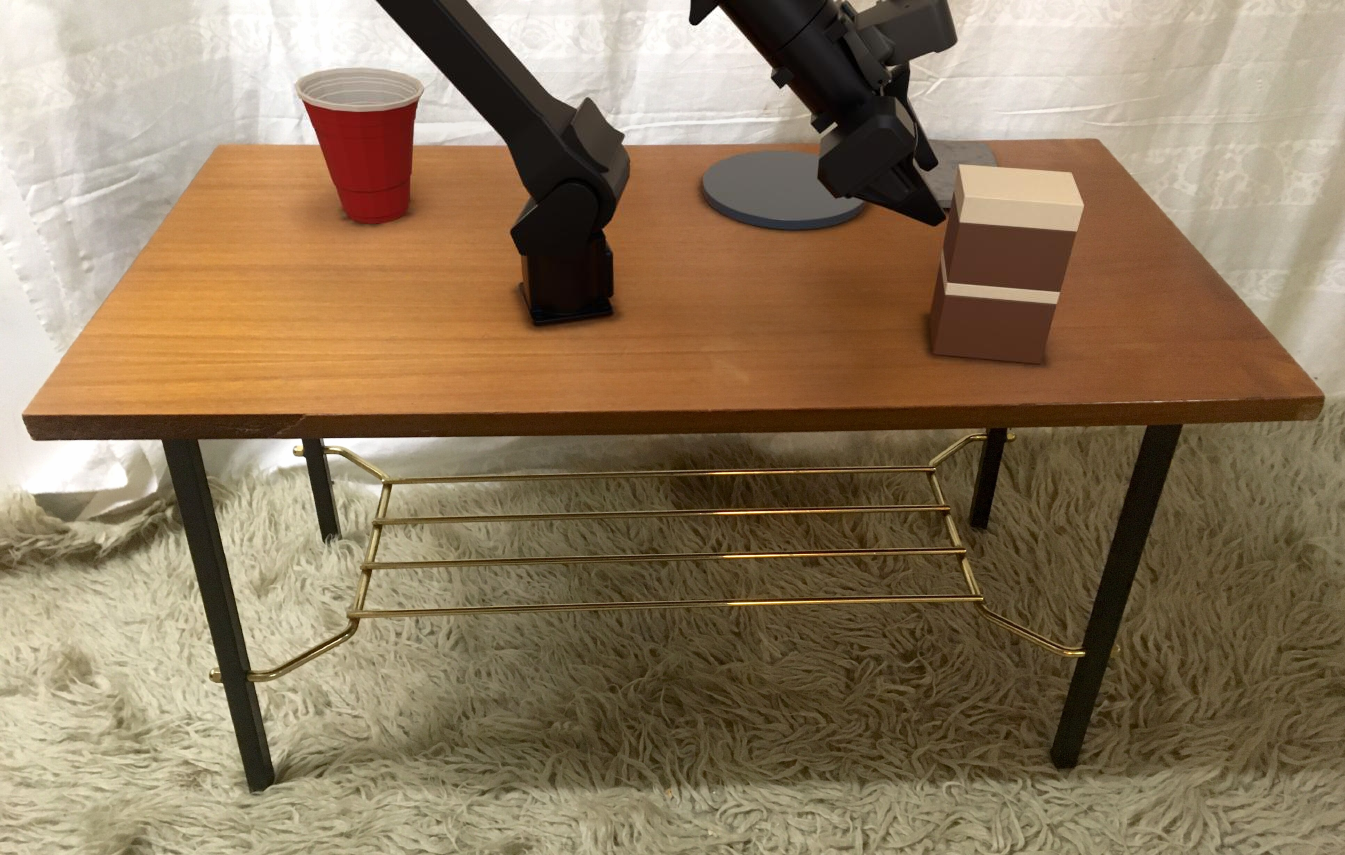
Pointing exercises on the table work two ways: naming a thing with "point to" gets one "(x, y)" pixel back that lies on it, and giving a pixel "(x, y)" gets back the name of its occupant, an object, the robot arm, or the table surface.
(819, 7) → the robot arm
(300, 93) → the plastic cup
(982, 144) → the cleaver
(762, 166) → the plate
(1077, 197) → the cake slice
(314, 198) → the table surface
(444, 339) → the table surface
